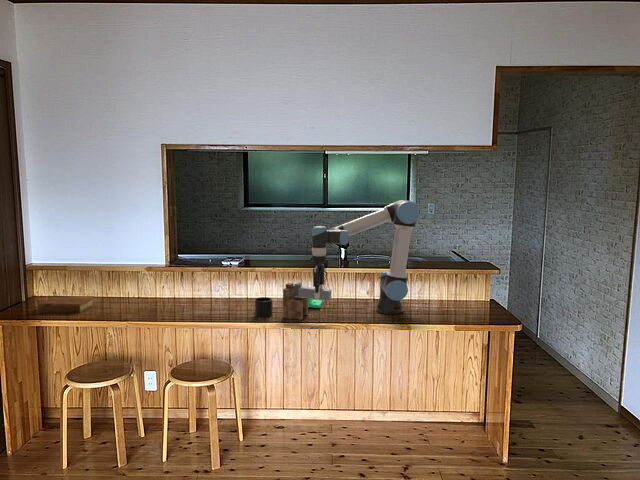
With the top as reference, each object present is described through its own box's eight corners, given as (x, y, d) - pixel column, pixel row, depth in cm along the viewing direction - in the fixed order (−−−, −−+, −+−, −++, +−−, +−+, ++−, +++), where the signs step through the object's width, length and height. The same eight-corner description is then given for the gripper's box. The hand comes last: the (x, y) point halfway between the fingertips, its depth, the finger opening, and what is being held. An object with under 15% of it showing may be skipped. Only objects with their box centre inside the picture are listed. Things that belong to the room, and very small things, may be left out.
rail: (331, 298, 275) (331, 286, 274) (328, 300, 271) (329, 287, 270) (296, 294, 281) (297, 282, 280) (294, 296, 277) (294, 283, 276)
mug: (275, 312, 288) (275, 296, 287) (269, 318, 276) (269, 301, 275) (259, 311, 290) (259, 295, 288) (253, 317, 278) (252, 301, 277)
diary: (39, 314, 283) (38, 304, 282) (56, 305, 302) (55, 295, 301) (79, 314, 283) (79, 304, 282) (94, 305, 301) (94, 295, 301)
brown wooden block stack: (308, 314, 284) (308, 282, 281) (301, 319, 273) (301, 287, 271) (290, 312, 287) (290, 281, 285) (283, 317, 277) (283, 285, 274)
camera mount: (319, 309, 294) (319, 292, 293) (306, 309, 295) (306, 291, 294) (322, 304, 306) (322, 287, 305) (309, 303, 307) (310, 287, 306)
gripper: (317, 252, 281) (317, 293, 284) (307, 257, 265) (306, 300, 268) (330, 253, 278) (329, 294, 282) (320, 257, 262) (320, 301, 266)
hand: (318, 297), depth 275 cm, fingers closed on rail, 4 cm apart
